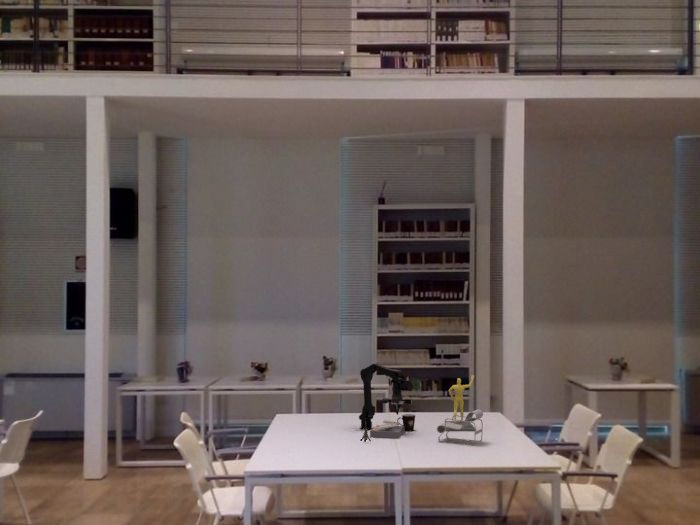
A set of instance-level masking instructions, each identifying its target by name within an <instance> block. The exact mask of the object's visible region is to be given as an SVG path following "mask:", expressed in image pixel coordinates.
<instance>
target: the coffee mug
mask: <svg viewBox="0 0 700 525" xmlns="http://www.w3.org/2000/svg"><path fill="white" fill-rule="evenodd" d="M400 419H401V420H402V424H401V423H400V422H399V420H400ZM415 421H416V414H412V413H403V414H401V417H398V418H397V421H396V422H399V426H405V432H414V430H415V423H416V422H415Z"/></svg>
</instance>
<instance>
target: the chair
mask: <svg viewBox="0 0 700 525" xmlns="http://www.w3.org/2000/svg"><path fill="white" fill-rule="evenodd" d="M474 415H475V417H474ZM454 416H456V417H458V418H459V417H460V418H461V417H463V418H465V419H464V420H463V422H464V423H463V425H459V424H454V423H450V422H447V423H446V421H448V420H449V421H452V422H453V421H454V420H456V421H462V420H460V419H454ZM483 416H484V412H483V411H482V410H481V409H479V408H478V409H475V410H473V411H470V412H468V413H467V415H466V416H464V415H463V416H461V415H454V414H453V416H452V418H448V417H447V418H445V419H444V423H441V424H439V425H438V426H437V427H436V431H437V433H439V434H440V435H439V436H438V439H437V440H438V442H439V443H443V444H444V443H445V444H452V443H453V444H455V445H462V443H459V442H452V441H451V442H449V441H441V439H440V438H441V436H442V435H443V434H444V433H445V432H446V433H445V436H446V439H448V440H456V438H453V437H449V436H448V434H449V432H451V431H450V430H451V429H452V428H453V429H462V428H464V427H466V426H468V425H469V423H471V424H472V425H473V427H474V428H475V431H474V436H476V435H478V434H480V433H483V426H484V425H483V420H482V419H481V418H482V417H483ZM477 420H479V421H481V429H479V430H477V428H476V423H475V421H477ZM446 427H449V428H447V429H446ZM447 430H449V431H447ZM480 437H481V439H480V440H476V437H474V439H468V440H469V441H468V442H474V443H473V444H471V443H464V444H465V446H474V445H476V442H478V441H479V443H480V442H482V441H483V434H481V436H480ZM458 439H459V441H467V439H464V438H458Z"/></svg>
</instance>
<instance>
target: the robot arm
mask: <svg viewBox="0 0 700 525" xmlns="http://www.w3.org/2000/svg"><path fill="white" fill-rule="evenodd" d="M376 372H378V373H381V374H384V375H387V376H388V377H389V378H390V379H391V380H390V381H389V383H390V384H391V383H392V395H391V398H390V397H384V398H383V399H382V402H381V403H382V404H388V403H391V405H392V406H393V408H394V411H395V414H396V415H397V416H398V415H399V413H400V410H401V408H402V406H403V405H404V404H405V405H413V399H412V398H405V399H404V398H403V392H411V391H412V390H413V383H412V382H411V381H412V380H408V379H407V378H406V376H405V375H404V373H403V370H400V369H392V368H389V367H386V366H385V365H381V364H379V363H372V364H370V365H369V366H367V367H364V368H362V369H360V374H359V375H360V378H361V380H362V382H363V383H362V384H363V401H364V402H363V403H364V404H363V406H362V409H361V414H359V415H358V419H359V420H360V430H365V422H366V428H367V430H372V429H373V421H372V420H373V419H374V417H375V414H376V406H374V405H373V403H372V402H373V401H372V400H373V399H372V379H373V378H374V374H375V373H376ZM402 391H403V392H402Z"/></svg>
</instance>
